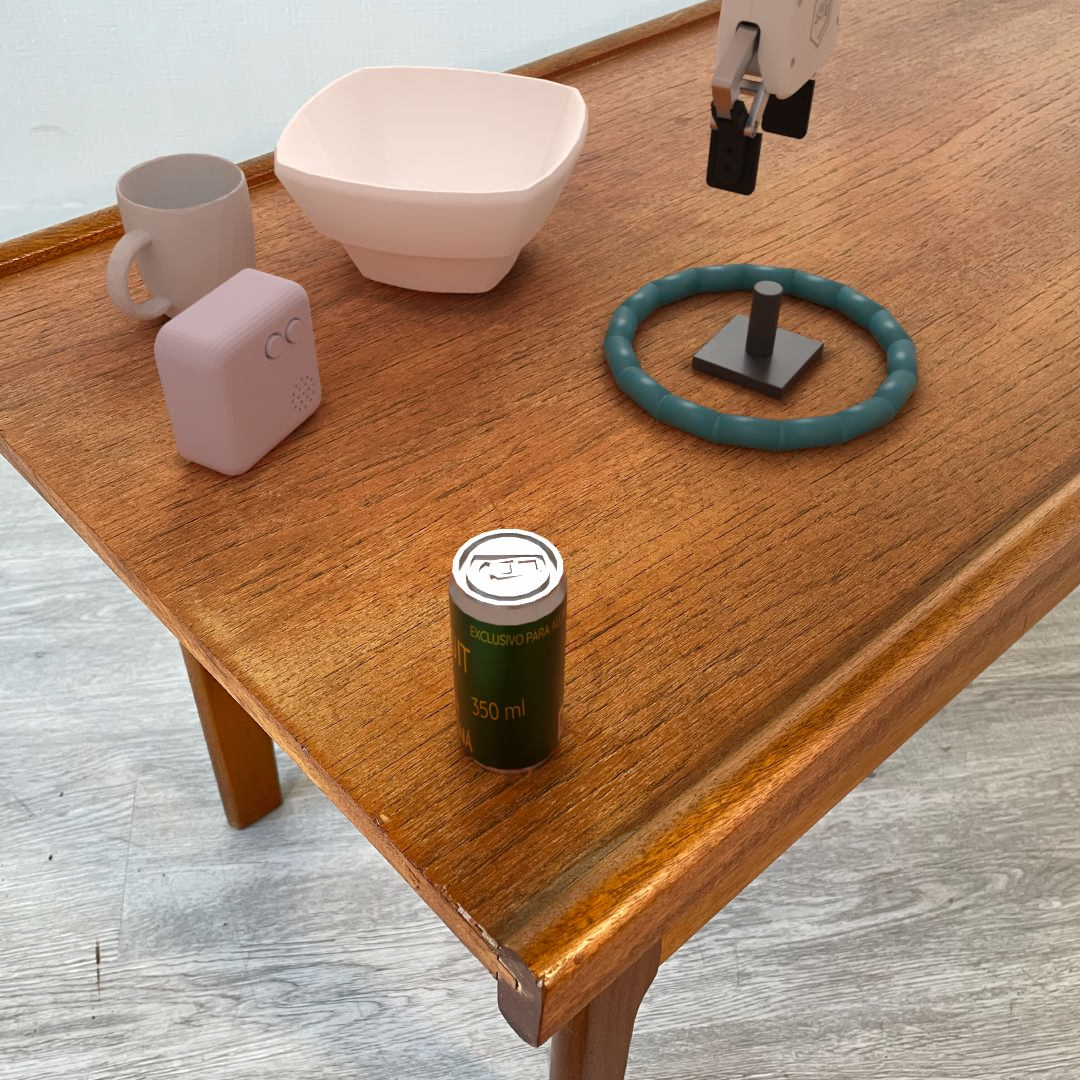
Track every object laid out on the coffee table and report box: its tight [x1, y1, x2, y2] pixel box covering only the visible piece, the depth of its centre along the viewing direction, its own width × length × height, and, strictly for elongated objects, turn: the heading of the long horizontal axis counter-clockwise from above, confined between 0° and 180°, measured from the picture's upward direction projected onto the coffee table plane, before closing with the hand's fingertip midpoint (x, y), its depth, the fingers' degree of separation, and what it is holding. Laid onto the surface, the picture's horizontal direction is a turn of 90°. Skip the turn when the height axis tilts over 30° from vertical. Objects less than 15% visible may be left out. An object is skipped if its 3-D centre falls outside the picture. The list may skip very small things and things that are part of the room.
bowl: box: [273, 65, 590, 294], centre depth 93 cm, size 22×22×12 cm
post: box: [691, 281, 825, 401], centre depth 85 cm, size 7×7×6 cm
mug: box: [105, 152, 256, 321], centre depth 87 cm, size 13×9×10 cm
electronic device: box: [153, 268, 323, 477], centre depth 76 cm, size 10×5×10 cm, turn 152°
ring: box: [602, 262, 918, 452], centre depth 86 cm, size 22×22×2 cm
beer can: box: [447, 528, 568, 775], centre depth 57 cm, size 5×5×12 cm
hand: (757, 160), depth 81 cm, fingers open, 9 cm apart
